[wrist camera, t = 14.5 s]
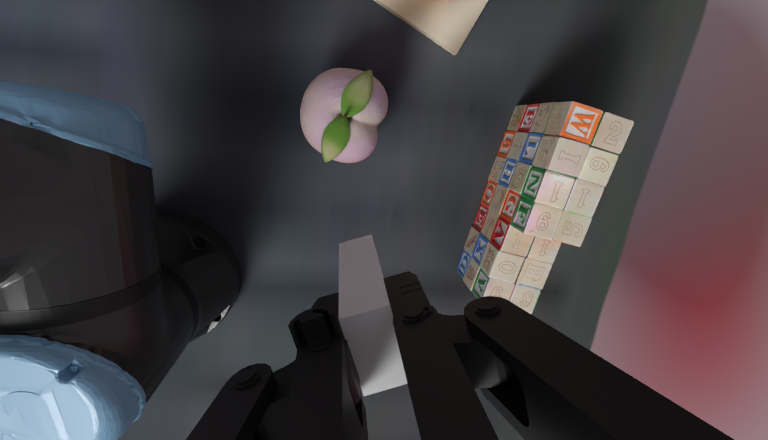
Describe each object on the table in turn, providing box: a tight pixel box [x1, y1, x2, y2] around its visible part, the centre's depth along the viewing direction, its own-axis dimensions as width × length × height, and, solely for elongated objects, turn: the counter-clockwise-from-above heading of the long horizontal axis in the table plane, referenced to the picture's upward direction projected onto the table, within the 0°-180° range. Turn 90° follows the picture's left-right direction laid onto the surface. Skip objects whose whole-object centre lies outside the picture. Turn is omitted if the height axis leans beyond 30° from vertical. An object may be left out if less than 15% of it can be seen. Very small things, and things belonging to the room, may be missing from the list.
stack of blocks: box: [457, 101, 634, 314], centre depth 41 cm, size 21×6×12 cm, turn 163°
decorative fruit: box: [300, 68, 388, 163], centre depth 38 cm, size 9×8×10 cm
